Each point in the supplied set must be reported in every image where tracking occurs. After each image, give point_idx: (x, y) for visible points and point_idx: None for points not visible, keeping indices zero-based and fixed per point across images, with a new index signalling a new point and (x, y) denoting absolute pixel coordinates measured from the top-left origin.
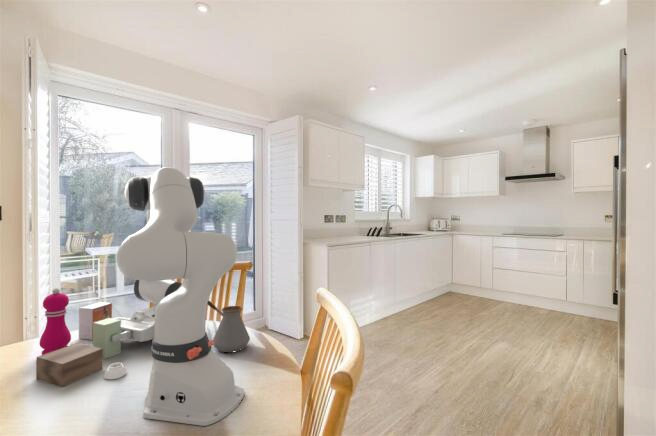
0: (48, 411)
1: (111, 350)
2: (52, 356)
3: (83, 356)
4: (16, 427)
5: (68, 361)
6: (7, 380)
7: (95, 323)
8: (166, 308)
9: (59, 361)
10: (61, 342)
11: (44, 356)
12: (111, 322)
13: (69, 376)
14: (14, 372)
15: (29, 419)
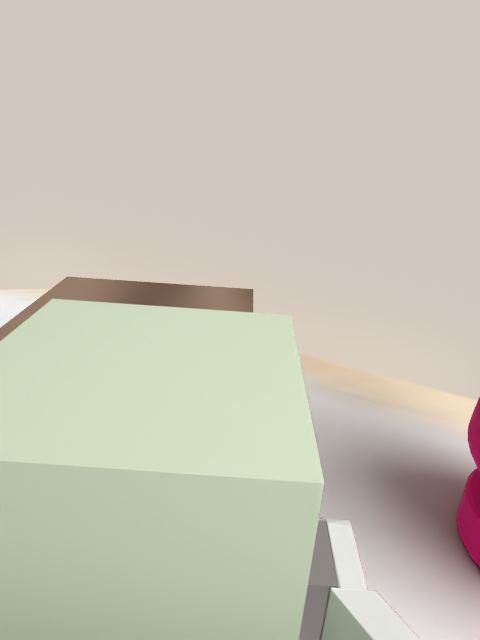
0: (4, 316)
1: None
2: (187, 295)
3: (25, 313)
4: (36, 291)
5: (58, 285)
6: (337, 365)
7: (241, 314)
8: None
9: (102, 283)
10: (477, 436)
11: (224, 293)
12: (23, 348)
13: None
14: (404, 394)
15: (30, 302)
